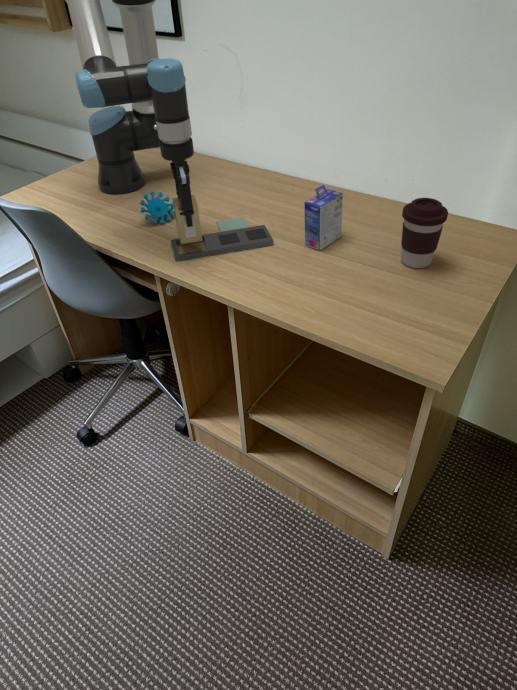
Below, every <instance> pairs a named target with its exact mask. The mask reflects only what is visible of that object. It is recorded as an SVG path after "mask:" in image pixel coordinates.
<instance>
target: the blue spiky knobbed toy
mask: <svg viewBox="0 0 517 690" xmlns="http://www.w3.org/2000/svg"><path fill="white" fill-rule="evenodd" d="M149 194H150V197H151V199H149ZM149 194H148V193H145V194H144V195H143V196H142V197H143V199H141V200H140V203H139V205H141V207H140V213H149V214H145V215H144V219H145V220H150V218H152V217H153V216H154V218H152V220H151V223H152V224H153V225H156V223H157V222H158V221H157V220H158V219H160V220H159V225H165V223H166V222H171V221H172V217H171V216H173V217H174V215H175V211H174V205H173V202H170V200H171V198H170V197H169V196H168V195H167V196H165V198H162V197H163V196H164V193H163V192H162V191H159V192H158V193H157V197H154V196H155V195H156V191H154V190H151V191H150V193H149ZM144 199H145V200H144ZM145 201H146V202H147V203H146V202H145ZM167 202H169V203H167ZM143 206H144V207H143ZM164 216H165V217H166V219H164ZM165 220H166V222H165Z"/></svg>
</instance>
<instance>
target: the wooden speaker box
mask: <svg viewBox="0 0 517 690" xmlns="http://www.w3.org/2000/svg"><path fill="white" fill-rule="evenodd" d="M191 197H192V204H193V210H194V214H193V215H194V222H195V229H196V237H190V238H186V237H185V230H184V224H183V217H182V215H181V216H180V213H181V212H182V206H181V200H180V197H178V196H177V197H172V203H173V205H174V209H173V211H174V212H175V213H174V216H175V223H176V227H177V235H178V239H179V238H180V242H181V244H182V245H186V244H185V243H188V244H192V243H191V242H194V243H198V242H197V241H201V242H203V241H202V235H203V234H202V228H201V220H200V213H199V204H198V200H197V199H196V195H195V194H191Z"/></svg>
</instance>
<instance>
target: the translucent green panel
mask: <svg viewBox="0 0 517 690" xmlns="http://www.w3.org/2000/svg"><path fill="white" fill-rule="evenodd" d="M216 226H217V227H218V230H219V232H222V231H229V230H235V229H241V228H247V227H249V224H248V223H247V221H246V219H245V217H244V216H243V217H237V218H230V219H226V220H218V221H216Z"/></svg>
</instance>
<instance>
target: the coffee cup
mask: <svg viewBox="0 0 517 690" xmlns="http://www.w3.org/2000/svg"><path fill="white" fill-rule="evenodd" d="M401 212H402V213H401V215H402V218H403V223H402V231H401V256H400V261H401V262H402V264H403V265H405V266H407V267H409V268H413V269H423V268H426V267H428V266H431V264H432V261H433V259H434V256H435V252H436V250H437V248H438V244H439V241H440V238H441V236H442V235H441V234H442V231H443V226H444V225H443V224H444V223H445V222H446V221H447V220H448V217H449V211H448V209H447V207H445V206H444V205H443V203H442V202H441V201H439V200H438V199H435V198H432V197H419V198H416V199H412V201H411V202H410V203H407V204H405V205H404V206H403V208H402V211H401Z"/></svg>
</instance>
